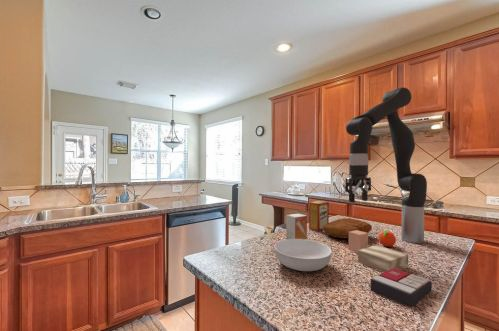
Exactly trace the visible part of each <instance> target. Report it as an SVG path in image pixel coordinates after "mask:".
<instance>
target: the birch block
mask: <svg viewBox="0 0 499 331" xmlns="http://www.w3.org/2000/svg"><path fill="white" fill-rule="evenodd" d="M357 263H360V264H361V263H362V265H364V266H366V265H367V266H366V267H369V268H371V267H372V269H374V270H376V269H377V270H376V271H380V272H381V273H384V272H386V271H389V270H391V269H393V268H395V269H398V270H401V271H403V270H405V269H407V268H409V254H408V253H405V252H401V251H399V250H395V249H391V248H389V247H388V248H387V247H386V246H383V245H378V244H375V245H372V246H368V248H364V249H361V250H358V253H357Z"/></svg>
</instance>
